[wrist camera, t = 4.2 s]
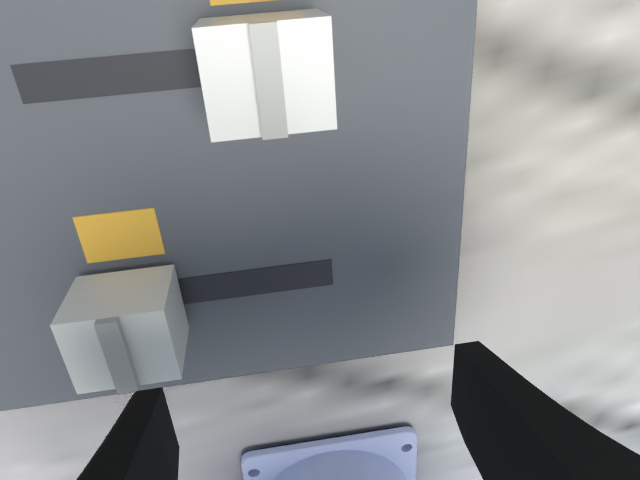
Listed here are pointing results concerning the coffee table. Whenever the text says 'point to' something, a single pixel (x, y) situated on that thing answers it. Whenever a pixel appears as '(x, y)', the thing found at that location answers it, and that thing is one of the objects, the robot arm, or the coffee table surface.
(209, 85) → the switch
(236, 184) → the switch panel
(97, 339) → the switch
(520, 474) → the robot arm
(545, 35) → the coffee table surface
